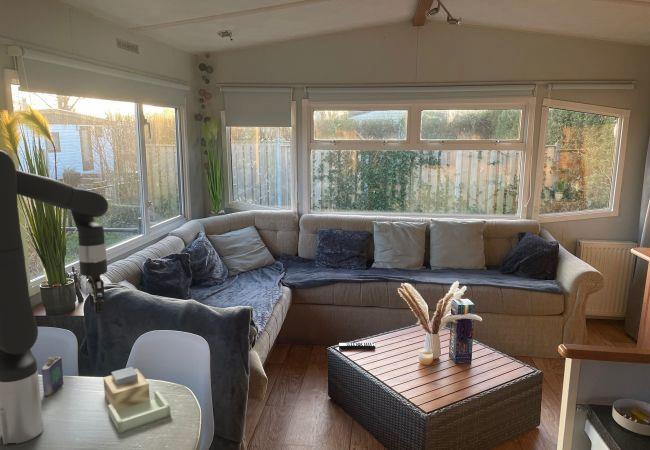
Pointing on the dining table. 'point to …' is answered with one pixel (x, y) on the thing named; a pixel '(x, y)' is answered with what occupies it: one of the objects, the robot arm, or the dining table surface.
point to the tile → (124, 376)
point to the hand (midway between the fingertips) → (96, 309)
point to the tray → (140, 413)
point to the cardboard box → (126, 392)
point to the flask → (52, 375)
